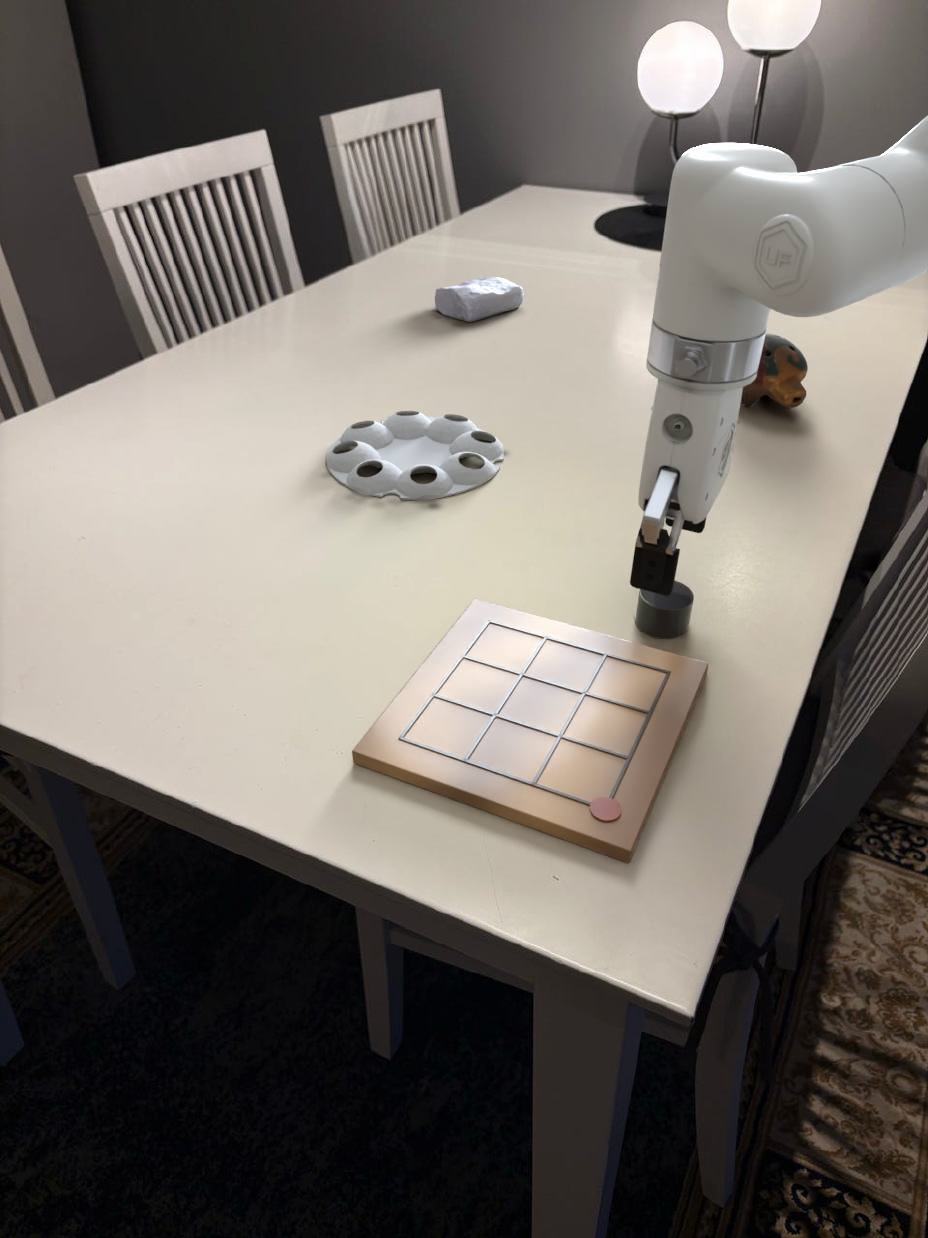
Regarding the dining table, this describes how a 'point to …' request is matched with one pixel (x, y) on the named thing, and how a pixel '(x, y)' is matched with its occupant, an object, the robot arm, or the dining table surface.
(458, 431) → the round palette
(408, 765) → the game board
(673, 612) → the grey metallic short cylinder
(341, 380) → the dining table surface
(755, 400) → the decorative turtle
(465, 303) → the block
